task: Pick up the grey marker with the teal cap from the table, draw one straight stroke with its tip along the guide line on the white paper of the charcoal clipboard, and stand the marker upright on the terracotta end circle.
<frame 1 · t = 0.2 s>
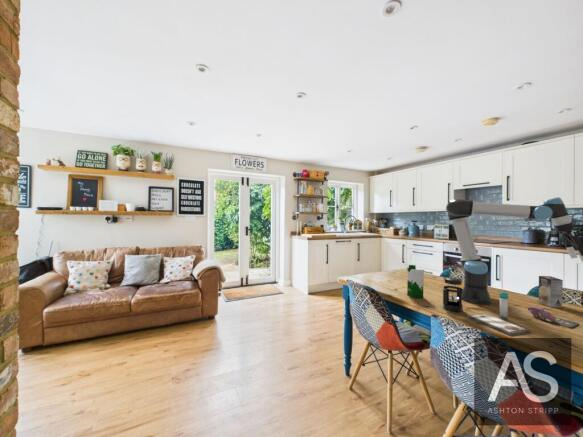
hand: (579, 259, 141), 28 cm above the table, tool tilted 20°, fingers open, 13 cm apart
purple rounded piece: (541, 318, 127), on the table
marker: (503, 318, 126), on the table
clipboard: (496, 324, 119), on the table
black lantern: (452, 309, 139), on the table
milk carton: (415, 296, 162), on the table
coffee box: (550, 305, 148), on the table
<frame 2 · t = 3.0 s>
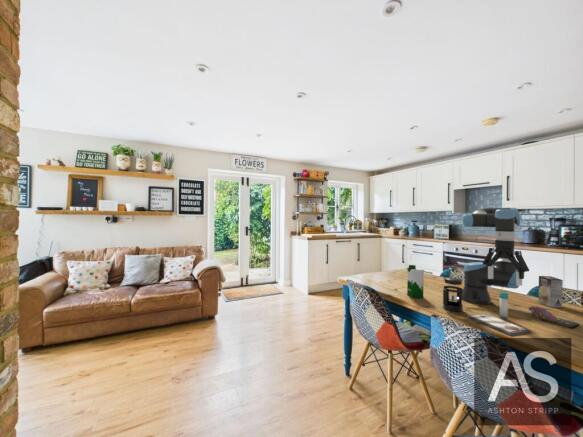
hand: (504, 281, 126), 19 cm above the table, tool pointing down, fingers open, 13 cm apart
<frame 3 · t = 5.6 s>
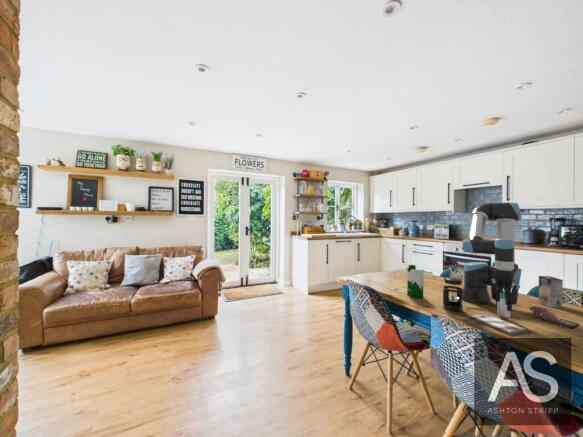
hand: (503, 315, 126), 2 cm above the table, tool pointing down, fingers closed on marker, 3 cm apart
marker: (503, 318, 126), on the table, touching gripper
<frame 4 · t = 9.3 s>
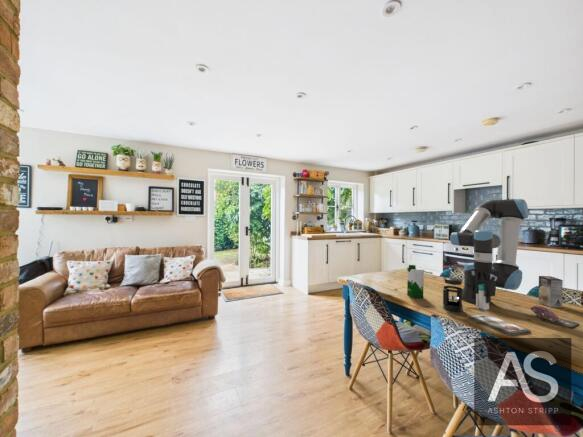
hand: (482, 307, 126), 6 cm above the table, tool pointing down, fingers closed on marker, 3 cm apart
marker: (482, 310, 126), point 4 cm above the table, touching gripper
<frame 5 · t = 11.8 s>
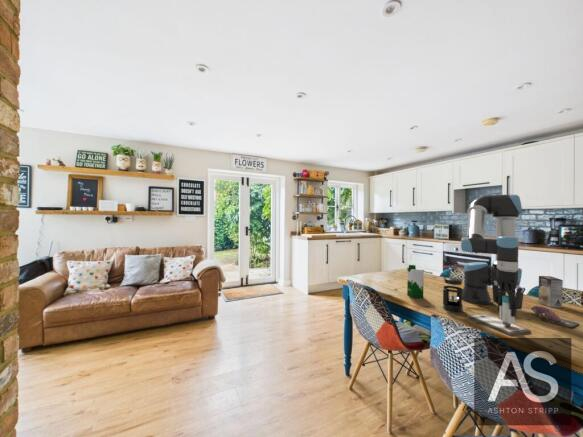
hand: (506, 321, 115), 3 cm above the table, tool pointing down, fingers closed on marker, 3 cm apart
marker: (506, 324, 115), point 2 cm above the table, touching gripper
when the fingers open (3 cm above the table, at t = 13.2 s): marker stays where it is, resting on clipboard.
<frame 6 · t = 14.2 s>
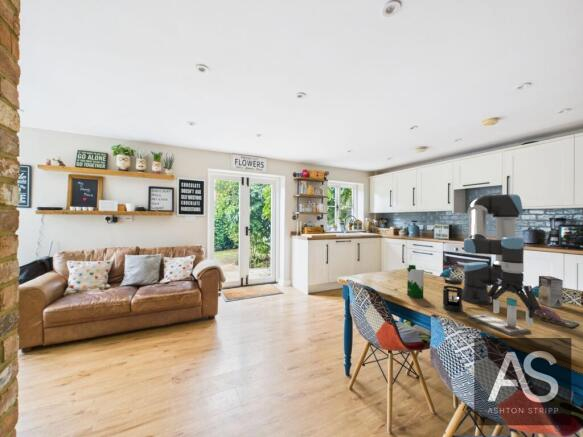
hand: (511, 318, 113), 5 cm above the table, tool pointing down, fingers open, 13 cm apart
marker: (511, 327, 113), point 1 cm above the table, touching clipboard
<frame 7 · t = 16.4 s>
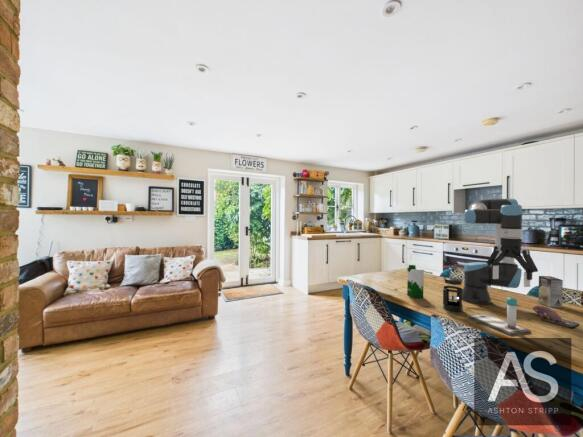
hand: (510, 282, 118), 20 cm above the table, tool pointing down, fingers open, 13 cm apart
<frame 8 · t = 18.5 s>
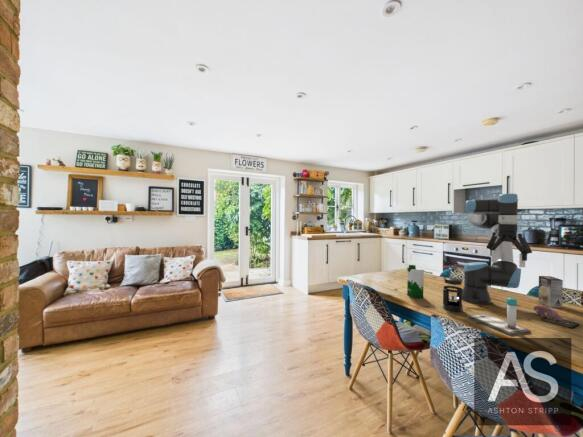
hand: (507, 264, 130), 27 cm above the table, tool pointing down, fingers open, 13 cm apart
at the end: marker 0.1 cm from the target spot on the clipboard, point 1.3 cm above the clipboard's base; marker tilted 0°; the gripper is holding nothing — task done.
